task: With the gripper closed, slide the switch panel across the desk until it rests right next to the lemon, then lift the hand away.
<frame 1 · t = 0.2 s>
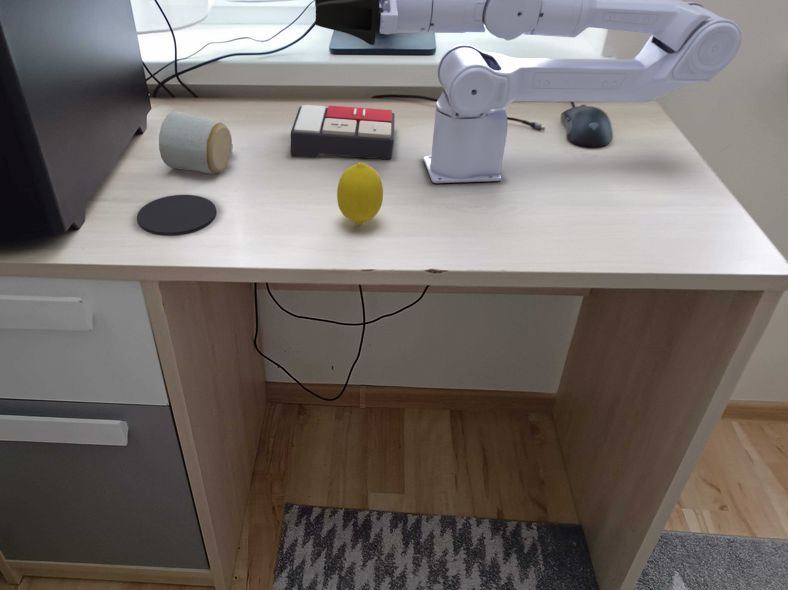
hand: (315, 5, 78), 22 cm above the table, tool horizontal, fingers open, 7 cm apart
switch panel: (343, 144, 100), on the table
felt coaster: (177, 215, 83), on the table
ceramic mug: (203, 166, 95), on the table
lemon: (359, 225, 81), on the table
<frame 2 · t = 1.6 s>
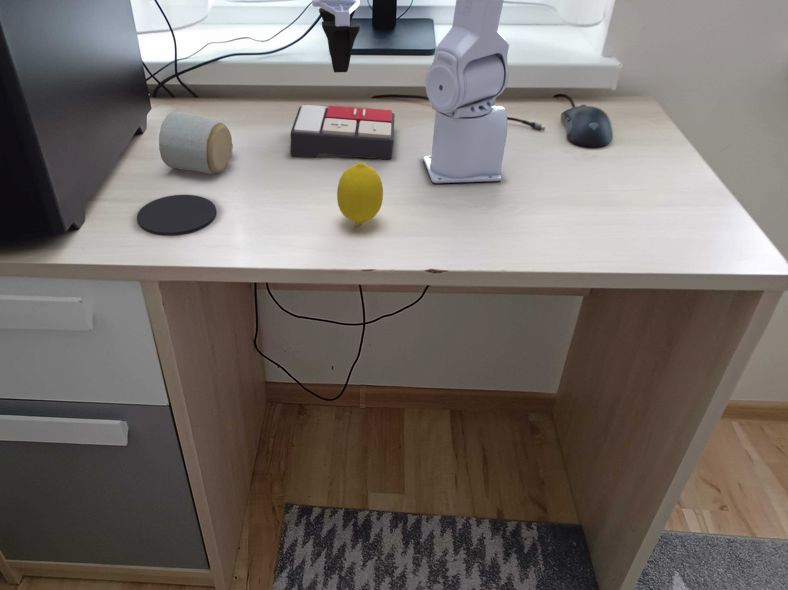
hand: (338, 64, 103), 8 cm above the table, tool pointing down, fingers open, 7 cm apart
nothing on the table moved.
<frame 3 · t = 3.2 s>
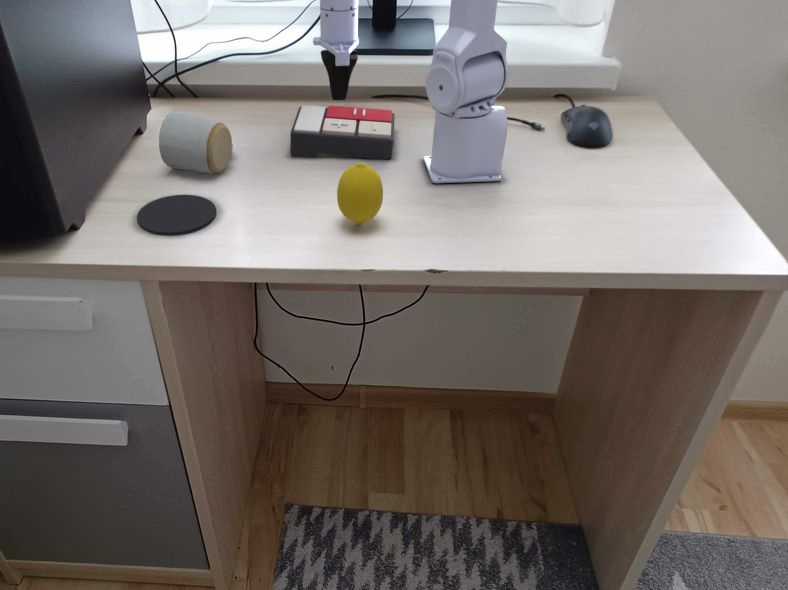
hand: (338, 98, 106), 3 cm above the table, tool pointing down, fingers closed
nothing on the table moved.
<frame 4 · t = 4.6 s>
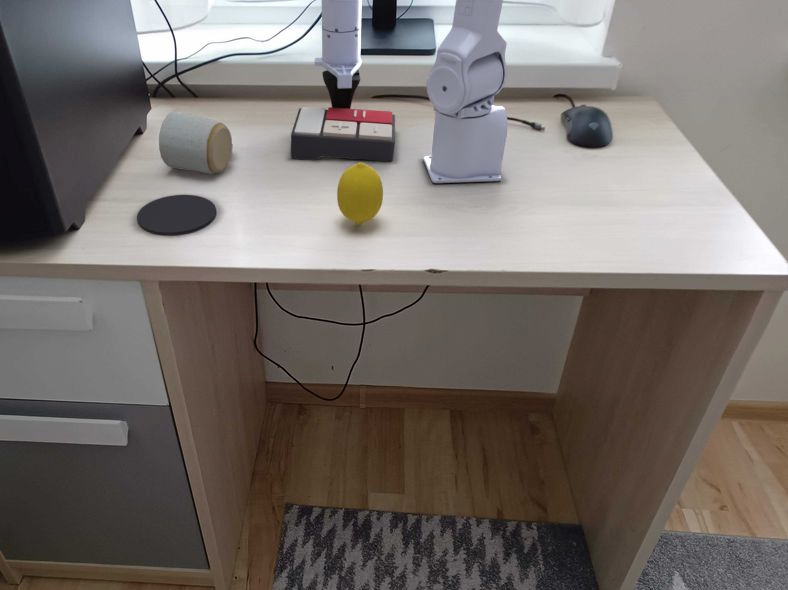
hand: (340, 119, 103), 1 cm above the table, tool pointing down, fingers closed
switch panel: (344, 146, 99), on the table, touching gripper
everything else where it was.
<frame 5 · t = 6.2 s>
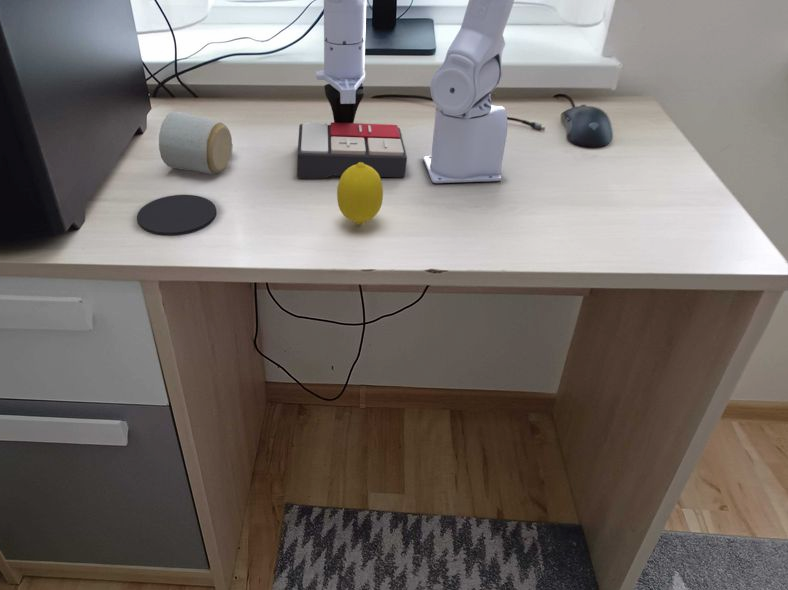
hand: (343, 135, 99), 1 cm above the table, tool pointing down, fingers closed
switch panel: (350, 163, 95), on the table, touching gripper
everything else where it was.
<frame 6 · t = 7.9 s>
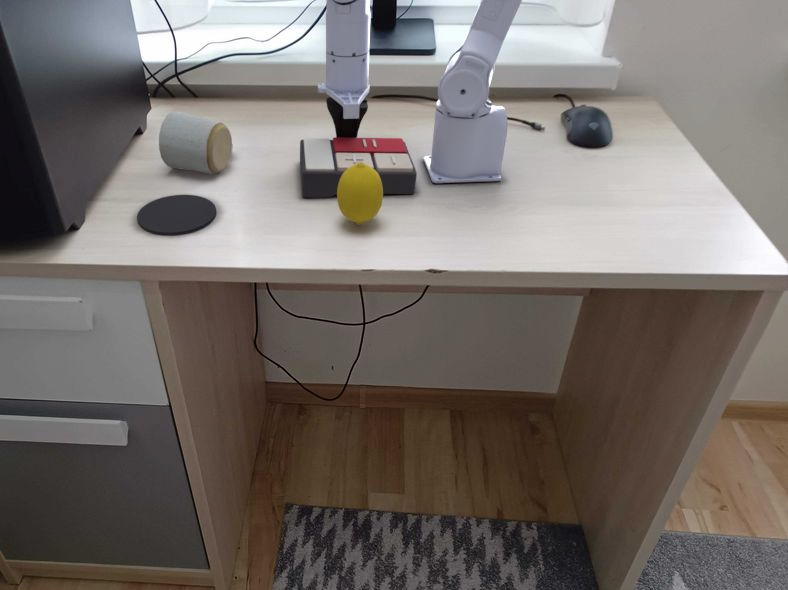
hand: (346, 150, 94), 1 cm above the table, tool pointing down, fingers closed
switch panel: (355, 179, 91), on the table, touching gripper
everything else where it was.
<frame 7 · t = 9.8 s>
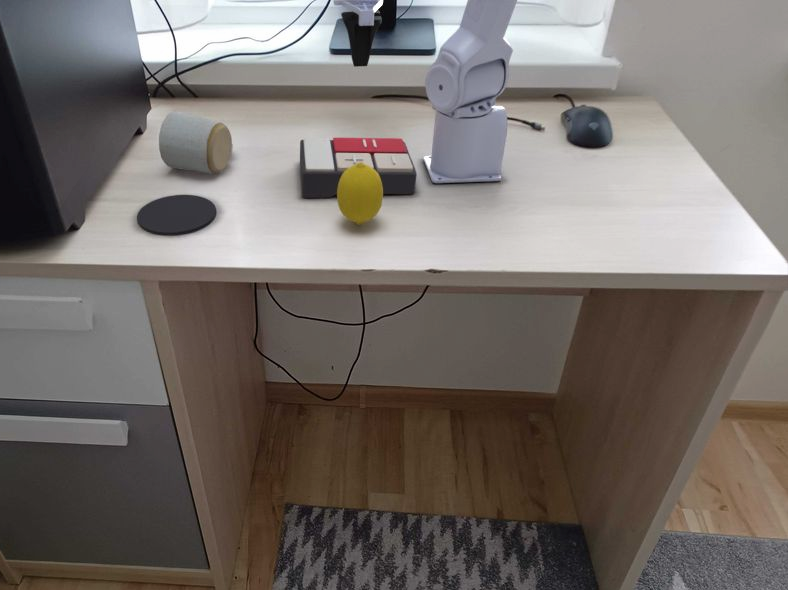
hand: (360, 65, 99), 9 cm above the table, tool pointing down, fingers closed
switch panel: (355, 180, 90), on the table
everything else where it was.
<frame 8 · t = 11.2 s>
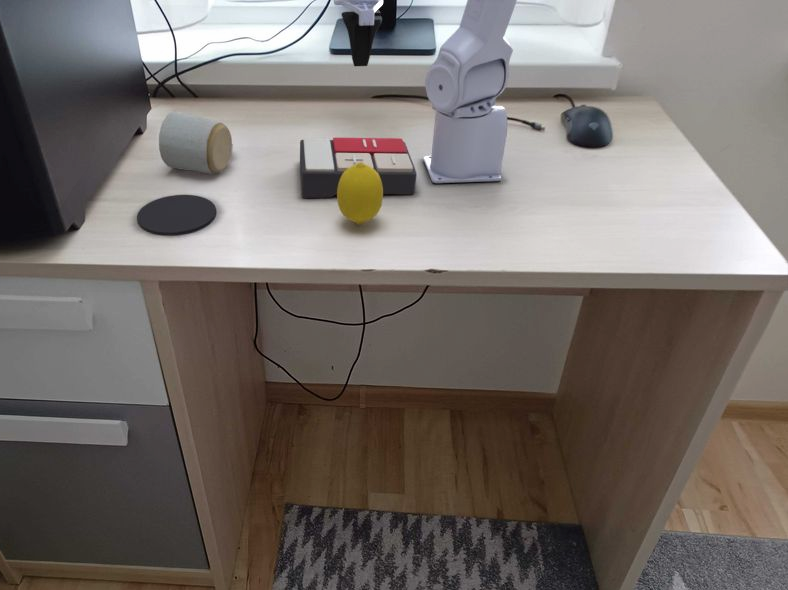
hand: (360, 64, 99), 9 cm above the table, tool pointing down, fingers closed
nothing on the table moved.
at the end: switch panel 12.7 cm from the lemon (horizontally); lemon moved 0.2 cm from its start; switch panel tilted 0° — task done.
